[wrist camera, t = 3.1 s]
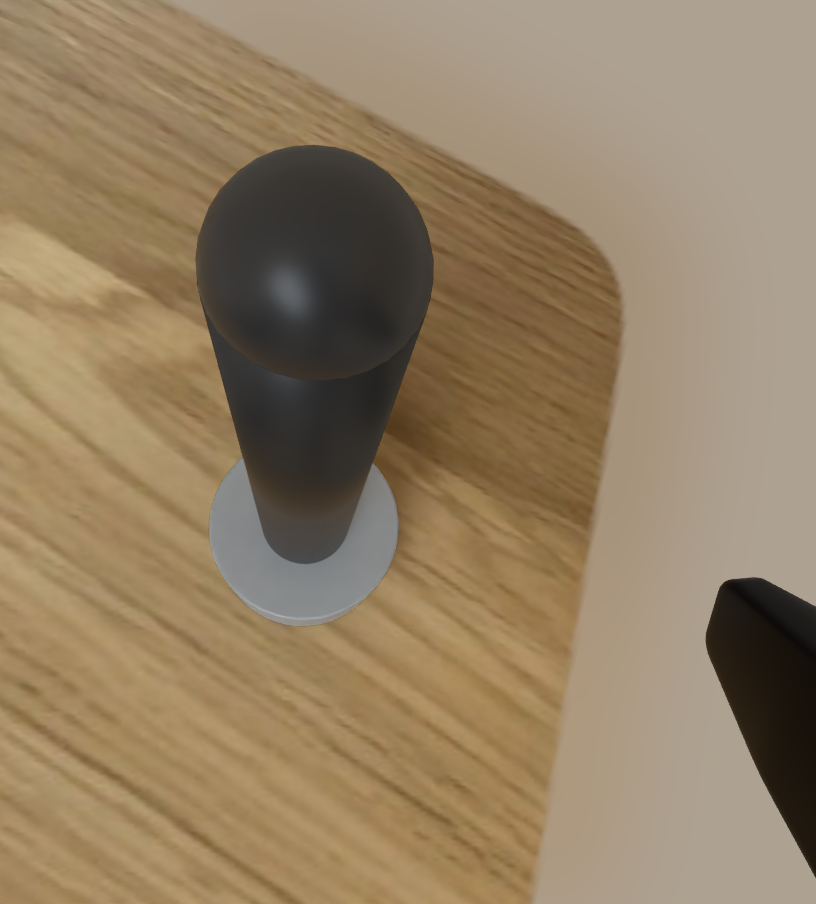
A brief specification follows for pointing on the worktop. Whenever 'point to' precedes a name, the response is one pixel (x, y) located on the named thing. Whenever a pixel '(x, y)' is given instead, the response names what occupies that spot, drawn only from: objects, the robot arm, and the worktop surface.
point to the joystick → (310, 372)
